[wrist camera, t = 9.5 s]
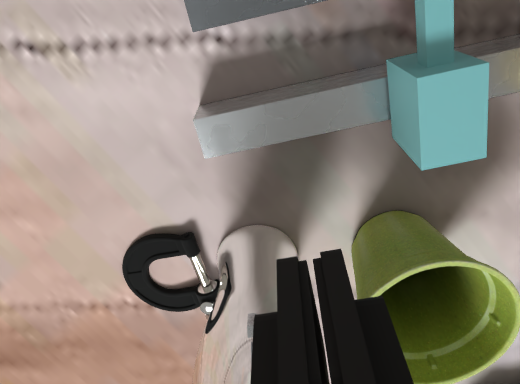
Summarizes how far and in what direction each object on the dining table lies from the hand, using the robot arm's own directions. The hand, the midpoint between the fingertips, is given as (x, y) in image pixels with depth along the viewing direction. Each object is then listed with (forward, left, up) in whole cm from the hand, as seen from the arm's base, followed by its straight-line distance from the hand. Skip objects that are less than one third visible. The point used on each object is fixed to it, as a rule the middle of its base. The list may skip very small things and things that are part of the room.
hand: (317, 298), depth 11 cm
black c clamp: (+10, +14, -18) cm, 25 cm away
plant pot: (-6, +12, -18) cm, 22 cm away
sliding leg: (-7, -4, -16) cm, 18 cm away
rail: (-8, 0, -17) cm, 19 cm away
